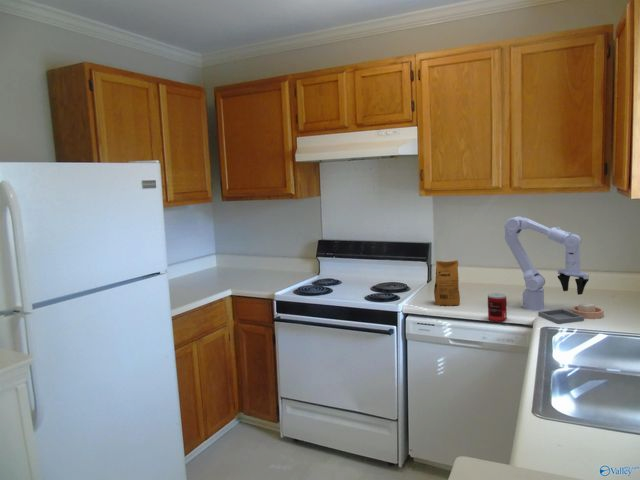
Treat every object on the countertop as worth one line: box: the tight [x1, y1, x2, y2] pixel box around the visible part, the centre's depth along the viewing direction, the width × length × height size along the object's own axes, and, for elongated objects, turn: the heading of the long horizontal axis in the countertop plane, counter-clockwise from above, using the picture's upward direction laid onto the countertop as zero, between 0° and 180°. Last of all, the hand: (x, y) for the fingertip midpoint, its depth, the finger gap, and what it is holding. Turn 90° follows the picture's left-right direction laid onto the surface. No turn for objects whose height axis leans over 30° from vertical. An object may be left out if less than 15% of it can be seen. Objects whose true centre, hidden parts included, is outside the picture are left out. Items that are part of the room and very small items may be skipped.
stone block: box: [577, 302, 596, 313], centre depth 207 cm, size 4×5×4 cm
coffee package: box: [433, 260, 461, 307], centre depth 241 cm, size 10×12×22 cm
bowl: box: [571, 305, 605, 320], centre depth 208 cm, size 12×12×3 cm
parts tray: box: [537, 308, 585, 325], centre depth 205 cm, size 13×12×2 cm
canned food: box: [487, 292, 508, 323], centre depth 211 cm, size 8×8×11 cm
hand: (572, 292), depth 212 cm, fingers open, 7 cm apart
